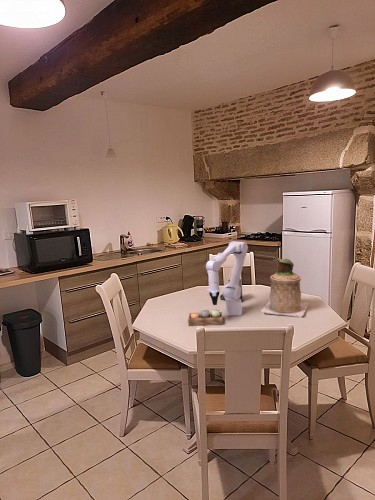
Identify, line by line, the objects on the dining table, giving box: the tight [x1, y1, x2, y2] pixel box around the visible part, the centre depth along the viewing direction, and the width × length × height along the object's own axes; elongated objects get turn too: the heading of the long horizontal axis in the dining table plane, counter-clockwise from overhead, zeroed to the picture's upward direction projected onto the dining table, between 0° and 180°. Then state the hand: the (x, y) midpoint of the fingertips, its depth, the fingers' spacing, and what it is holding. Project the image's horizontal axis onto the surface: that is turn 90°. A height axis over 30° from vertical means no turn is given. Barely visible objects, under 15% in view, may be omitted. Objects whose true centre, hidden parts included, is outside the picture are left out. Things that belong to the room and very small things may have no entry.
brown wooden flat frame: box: [187, 311, 224, 327], centre depth 201 cm, size 19×12×3 cm, turn 86°
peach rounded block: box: [190, 312, 200, 318], centre depth 201 cm, size 5×5×4 cm
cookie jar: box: [261, 258, 309, 318], centre depth 211 cm, size 25×25×32 cm
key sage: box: [211, 309, 221, 318], centre depth 200 cm, size 5×5×4 cm
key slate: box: [200, 309, 210, 318], centre depth 201 cm, size 5×5×4 cm
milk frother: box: [219, 278, 244, 303], centre depth 236 cm, size 14×16×15 cm
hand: (215, 304), depth 199 cm, fingers closed
